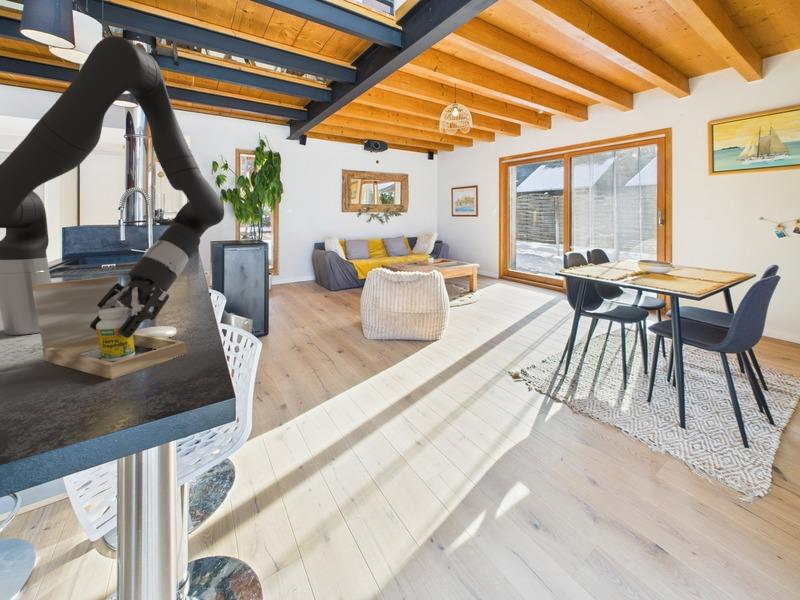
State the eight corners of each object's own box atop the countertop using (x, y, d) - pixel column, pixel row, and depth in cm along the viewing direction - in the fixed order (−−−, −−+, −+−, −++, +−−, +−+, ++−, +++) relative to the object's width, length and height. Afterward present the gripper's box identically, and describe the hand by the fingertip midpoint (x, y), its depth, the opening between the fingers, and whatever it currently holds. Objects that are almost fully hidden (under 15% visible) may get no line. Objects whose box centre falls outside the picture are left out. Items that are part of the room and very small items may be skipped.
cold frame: (44, 361, 70) (31, 285, 67) (123, 340, 83) (114, 276, 80) (112, 379, 62) (100, 295, 60) (187, 353, 75) (180, 283, 72)
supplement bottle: (135, 351, 76) (130, 305, 74) (134, 359, 72) (128, 311, 70) (102, 355, 73) (95, 308, 71) (99, 364, 69) (92, 314, 67)
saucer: (121, 339, 84) (120, 334, 83) (159, 329, 92) (159, 324, 91) (148, 344, 80) (147, 339, 80) (185, 333, 88) (185, 329, 88)
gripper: (123, 253, 78) (67, 318, 70) (170, 257, 73) (115, 327, 65) (151, 275, 84) (102, 337, 76) (196, 280, 79) (149, 347, 71)
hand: (108, 332), depth 70 cm, fingers open, 8 cm apart
